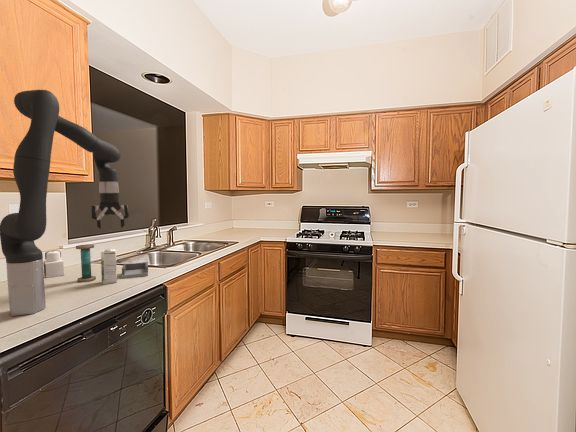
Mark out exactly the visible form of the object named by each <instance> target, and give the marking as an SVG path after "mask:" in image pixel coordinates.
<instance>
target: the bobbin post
mask: <svg viewBox="0 0 576 432" xmlns="http://www.w3.org/2000/svg"><path fill="white" fill-rule="evenodd" d="M93 248H95V244H92V243H91V244H89V243H87V244H79V245H76V246H75V250H80V261H81V262H80V264H81V277H78V278H77V282H78V283H88V282H93V281H95V280H96V279H97V276H95V275H92V262H91V249H93Z"/></svg>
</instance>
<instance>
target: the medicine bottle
mask: <svg viewBox="0 0 576 432" xmlns="http://www.w3.org/2000/svg"><path fill="white" fill-rule="evenodd" d="M43 271H44V278H46V279H49V278H56V277H63V276H65V275H66V274H65V262H64V260H63V259H62V251H60V250H49V251H46V252H45V253H44V260H43Z"/></svg>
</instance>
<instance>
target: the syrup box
mask: <svg viewBox="0 0 576 432" xmlns="http://www.w3.org/2000/svg"><path fill="white" fill-rule="evenodd" d="M100 266H101V269H100V270H101V271H100V273H101V285H106V284H107V285H108V284H115V283H117V282H118V281H117V279H118V275H117V274H118V272H117V268H118V267H117V249H114V248H112V249H111V248H110V249H108V248H107V249H101V251H100Z"/></svg>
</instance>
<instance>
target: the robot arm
mask: <svg viewBox="0 0 576 432" xmlns="http://www.w3.org/2000/svg"><path fill="white" fill-rule="evenodd" d="M13 104H14V106H15V108H16V110H17V111H18V112H19V113H20V114H21V115H23V116H24V117H26V118H28V119H30V126H29V128H28V129H27V132H26V134H25V136H24V137H23V139H22V140H21V141H20V142H19V144H18V146H17V148H16V151H15V154H14V160H13V169H12V170H13V171H12V172H13V177H14V181H15V184H16V185H17V189H18V191H19V196H20V197H19V198H20V199H19V201H20V202H19V209H18V212H13V213H9V214H6V215H5V216H4V217H3V218H2V219H1V220H0V245H1V246H0V247H1V251H2V254H3V256H4V258H5V263H6V264H5V265H6V276H7V277H6V278H7V290H8V305H9V314H10V316H11V317H17V316H24V315H31V314H33V315H34V314H36V313H37V312H39V311H42V310H44V309H45V308H47V305H46V291H45V275H44V264H43V261H44V259H43V258H44V257H43V251H42V250H41V249H40V248H39V247H38V246H37V245H36V244H35V241H37V240H39V239H41V238H42V237H43V236H44V234H45V232H46V230H47V229H46V228H47V194H48V185H49V183H48V182H49V176H50V168H51V158H52V150H53V149H52V148H53V142H54V136H55V135H54V134H55V132H57V133H58V134H60V135H61V136H63V137H65V138H67V139H68V140H69V141H71V142H73V143H75V144H76V145H77V146H79V147H80V148H82V149H83V150H85V151H87V152H89V153H93V154H92V155H93V156H92V157H93V160H94V164H95V166H96V169H97V172H98V179H99V182H98V183H99V184H98V189H99V191H98V192H99V193H98V194H99V205H96V204H95V205H92V206H91V219H93V220H96V226H97V228H99V229H102V228H103V222H102V221H103V220H102V218H103V217H104V216H105V215H106V216H108V215H109V216H110V215H117V217H119V218H120V228H122V229H123V228H124V227H125V225H126V222H125V220H126V219H128V218H130V213H129V206H128V204H121V202H120V201H121V200H120V188H119V187H120V186H119V181H118V180H119V179H118V171H117V169H115V168H112V167H111V166H110V163H111V164H112V163H113V164H114V163H117V162H118V161H120V160H121V152H120V150H119V149H118V148H117V146H115V145H113V144H111V143H109V142H107V141H105V140H103V139H100V138H99V137H97V136H96V135H95V134H93V133H92V132H91V131H89V130H88V129H86V128H85V127H83V126H82V125H79V124H77V123H75V122H72V121H70V120H69V119H66V118H64V117H62V116H60V103H59V100H58V98H57V96H56V95H55V94H54V93H53V92H51V91H50V90H47V89H31V90H24V91H23V90H22V91H20V92H18V93H16V94H15V95H14V98H13ZM121 208H122V210H124V215H123V213H122V212H121V211H120V210H121ZM98 210H100V211H101V212H100V213H99V214H98V216H97V211H98Z"/></svg>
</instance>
